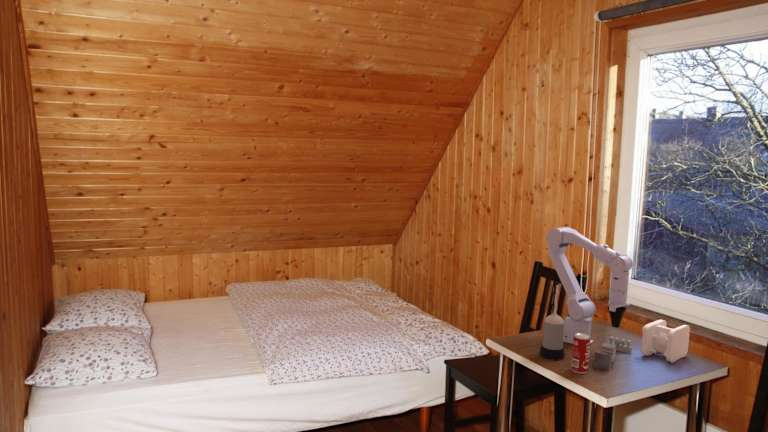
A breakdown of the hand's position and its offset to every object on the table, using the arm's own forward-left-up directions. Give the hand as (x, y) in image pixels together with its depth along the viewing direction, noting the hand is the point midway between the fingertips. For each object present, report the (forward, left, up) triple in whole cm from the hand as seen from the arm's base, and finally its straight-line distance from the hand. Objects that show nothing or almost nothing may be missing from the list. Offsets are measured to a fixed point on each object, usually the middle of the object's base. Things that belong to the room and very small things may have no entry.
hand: (615, 326), depth 209 cm
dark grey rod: (+1, -7, -8) cm, 11 cm away
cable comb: (+1, +4, -9) cm, 10 cm away
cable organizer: (+15, +8, -10) cm, 20 cm away
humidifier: (-16, -18, -10) cm, 26 cm away
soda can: (-4, -26, -10) cm, 28 cm away
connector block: (+1, -17, -9) cm, 20 cm away
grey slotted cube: (+1, -12, -9) cm, 15 cm away
